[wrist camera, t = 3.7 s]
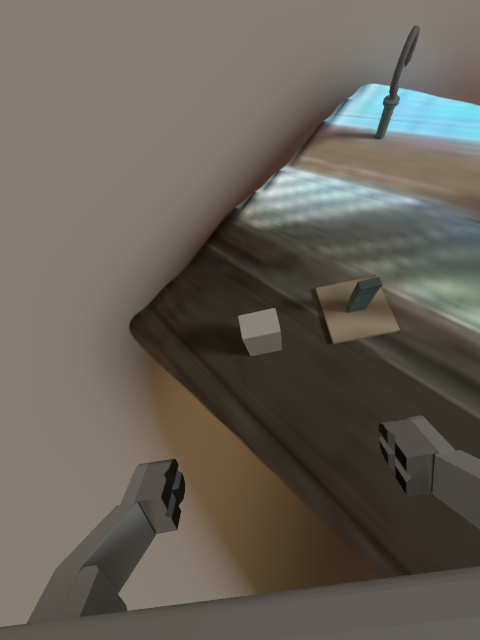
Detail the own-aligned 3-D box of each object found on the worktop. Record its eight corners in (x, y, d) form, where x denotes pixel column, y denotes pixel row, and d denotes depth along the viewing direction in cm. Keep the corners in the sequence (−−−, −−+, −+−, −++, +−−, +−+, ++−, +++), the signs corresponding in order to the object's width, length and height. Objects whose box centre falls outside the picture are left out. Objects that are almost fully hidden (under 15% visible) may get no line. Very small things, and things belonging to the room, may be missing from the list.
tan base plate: (398, 331, 36) (425, 308, 29) (333, 344, 36) (344, 324, 30) (374, 277, 39) (393, 245, 32) (315, 290, 40) (321, 261, 33)
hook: (380, 122, 52) (414, 13, 38) (393, 124, 51) (433, 13, 37) (366, 148, 50) (396, 42, 36) (379, 150, 49) (416, 43, 35)
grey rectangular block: (281, 350, 37) (280, 331, 30) (250, 356, 38) (242, 339, 30) (276, 330, 39) (275, 307, 31) (247, 336, 39) (238, 315, 32)
